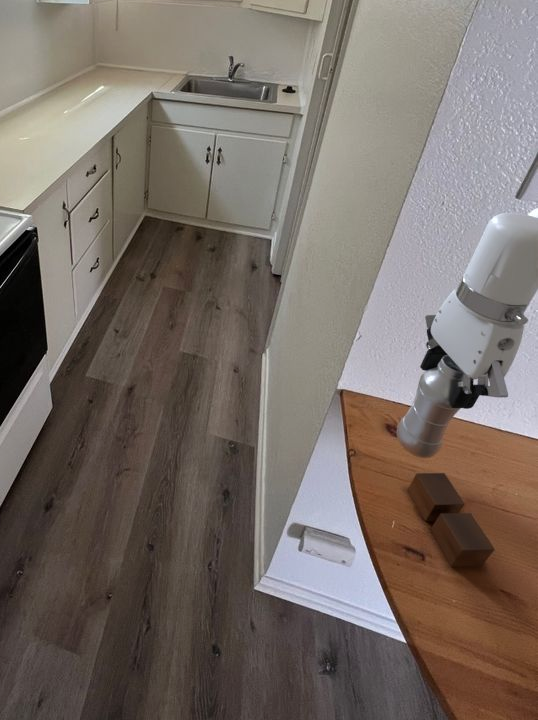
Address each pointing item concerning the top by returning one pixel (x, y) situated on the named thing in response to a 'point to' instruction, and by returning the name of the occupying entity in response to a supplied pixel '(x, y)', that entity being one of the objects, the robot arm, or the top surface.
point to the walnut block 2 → (461, 539)
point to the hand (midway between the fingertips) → (444, 386)
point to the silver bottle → (430, 410)
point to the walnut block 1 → (434, 495)
